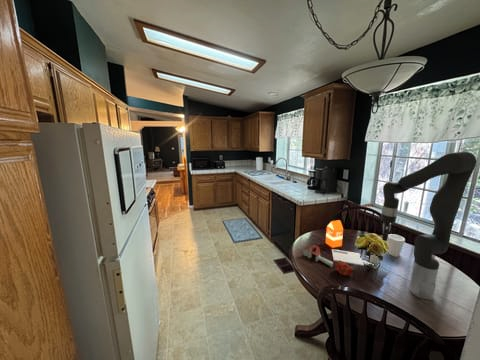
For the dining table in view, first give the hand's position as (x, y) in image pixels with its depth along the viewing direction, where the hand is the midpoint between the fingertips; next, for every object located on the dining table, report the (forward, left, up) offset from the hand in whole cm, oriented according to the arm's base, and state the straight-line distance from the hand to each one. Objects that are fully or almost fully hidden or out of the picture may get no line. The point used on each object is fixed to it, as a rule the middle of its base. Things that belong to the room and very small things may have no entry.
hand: (384, 237), depth 123 cm
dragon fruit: (-15, +23, -21) cm, 35 cm away
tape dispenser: (-4, +39, -21) cm, 44 cm away
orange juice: (+20, +26, -21) cm, 38 cm away
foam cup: (+19, -13, -21) cm, 31 cm away
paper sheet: (+4, +19, -20) cm, 28 cm away
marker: (+1, +4, -20) cm, 21 cm away
